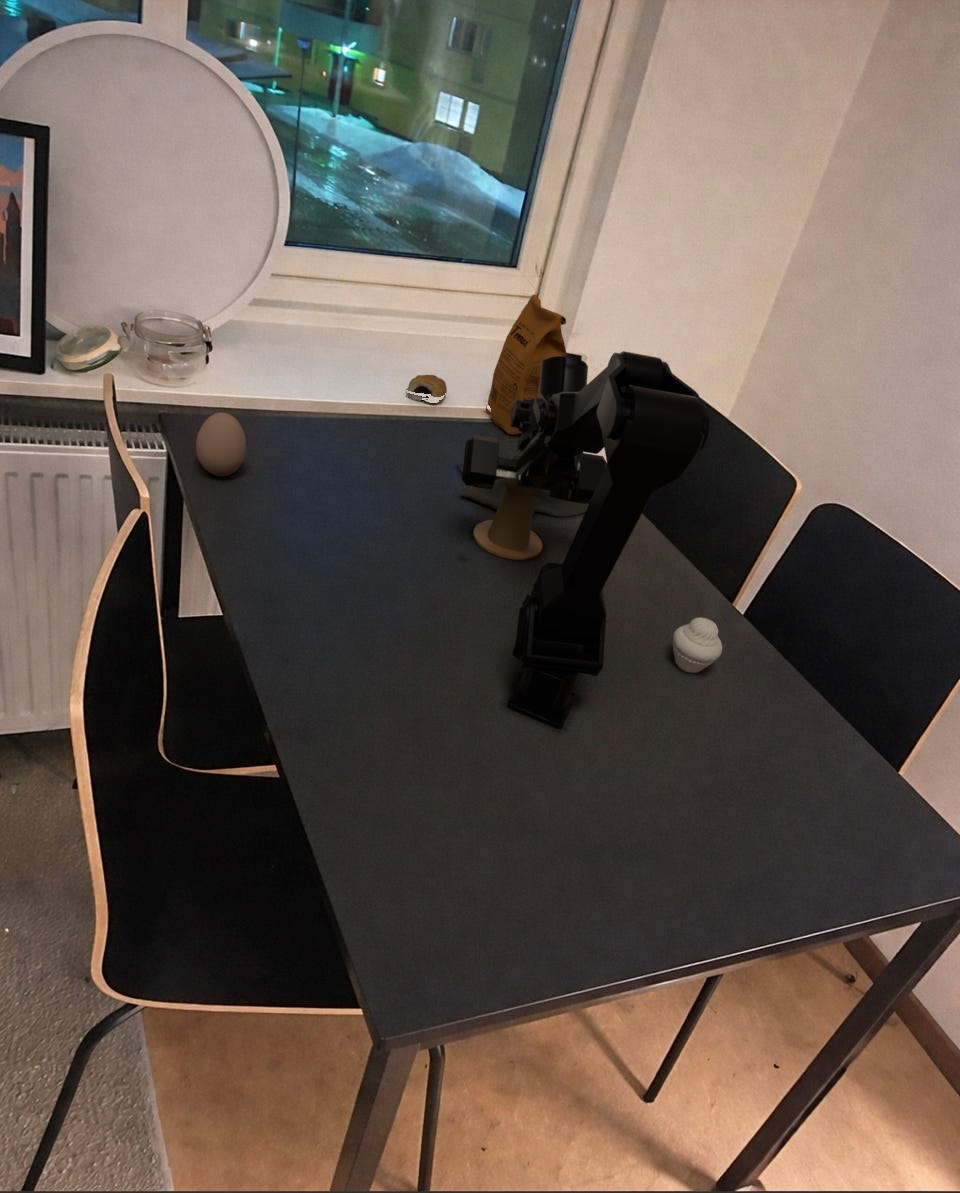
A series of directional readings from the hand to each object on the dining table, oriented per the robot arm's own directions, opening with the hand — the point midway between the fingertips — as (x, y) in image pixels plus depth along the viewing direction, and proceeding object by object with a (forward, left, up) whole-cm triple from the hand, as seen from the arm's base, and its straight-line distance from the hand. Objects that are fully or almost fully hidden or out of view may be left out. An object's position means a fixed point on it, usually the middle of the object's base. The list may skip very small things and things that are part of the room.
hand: (519, 488), depth 126 cm
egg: (-13, +39, -8) cm, 42 cm away
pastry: (+38, +29, -8) cm, 48 cm away
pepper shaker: (-1, -1, -7) cm, 8 cm away
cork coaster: (-1, -1, -8) cm, 8 cm away
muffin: (-14, -30, -8) cm, 34 cm away
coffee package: (+40, +12, -8) cm, 42 cm away
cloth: (+15, +2, -8) cm, 17 cm away
